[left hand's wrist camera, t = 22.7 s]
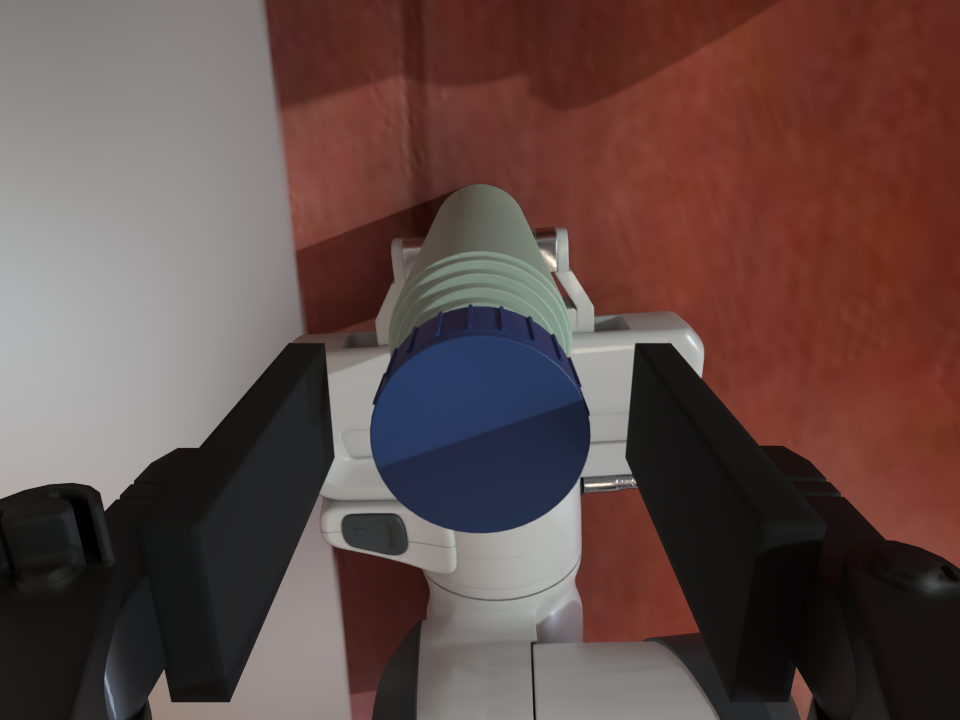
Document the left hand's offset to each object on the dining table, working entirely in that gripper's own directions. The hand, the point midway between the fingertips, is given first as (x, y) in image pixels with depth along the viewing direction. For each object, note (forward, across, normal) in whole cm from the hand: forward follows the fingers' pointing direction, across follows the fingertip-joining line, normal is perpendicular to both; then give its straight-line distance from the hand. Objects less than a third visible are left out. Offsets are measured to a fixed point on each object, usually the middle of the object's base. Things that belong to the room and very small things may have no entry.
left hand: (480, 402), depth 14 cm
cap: (-2, 0, 0) cm, 2 cm away
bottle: (+23, 0, 0) cm, 23 cm away
